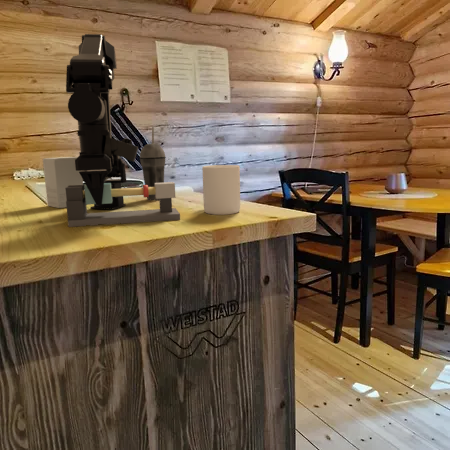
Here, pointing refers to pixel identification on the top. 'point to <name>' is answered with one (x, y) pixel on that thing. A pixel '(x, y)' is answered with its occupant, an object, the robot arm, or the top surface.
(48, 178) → the supplement box
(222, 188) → the mug
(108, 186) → the sleeve
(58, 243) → the top surface
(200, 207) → the top surface
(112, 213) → the grey peg fixture
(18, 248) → the top surface
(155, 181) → the beverage cup
